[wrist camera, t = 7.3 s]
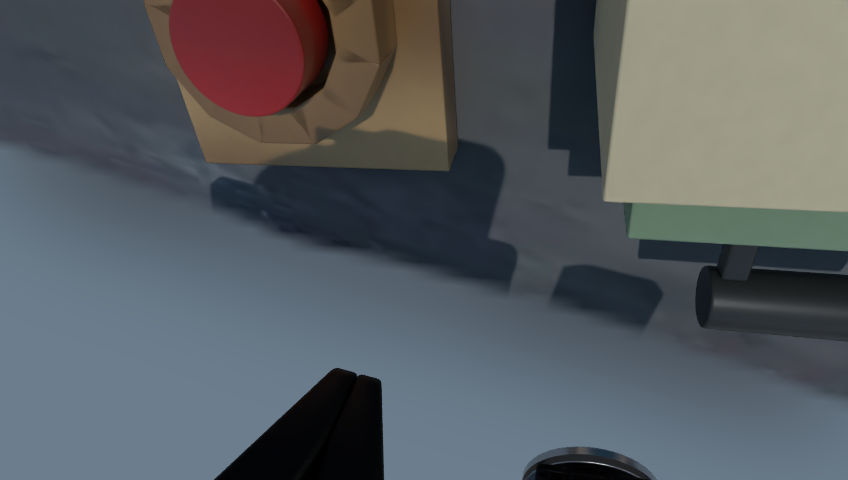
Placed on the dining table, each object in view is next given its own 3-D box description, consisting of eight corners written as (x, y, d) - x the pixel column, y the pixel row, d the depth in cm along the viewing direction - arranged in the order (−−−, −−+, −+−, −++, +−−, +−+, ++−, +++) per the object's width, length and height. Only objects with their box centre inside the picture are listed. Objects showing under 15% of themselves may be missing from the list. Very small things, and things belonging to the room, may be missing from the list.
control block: (458, 147, 19) (437, 201, 17) (229, 142, 21) (177, 188, 19) (437, -223, 14) (401, -235, 11) (125, -181, 16) (28, -183, 13)
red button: (340, 93, 16) (317, 118, 14) (227, 93, 17) (195, 117, 15) (314, -48, 14) (284, -34, 12) (186, -40, 14) (145, -26, 13)
